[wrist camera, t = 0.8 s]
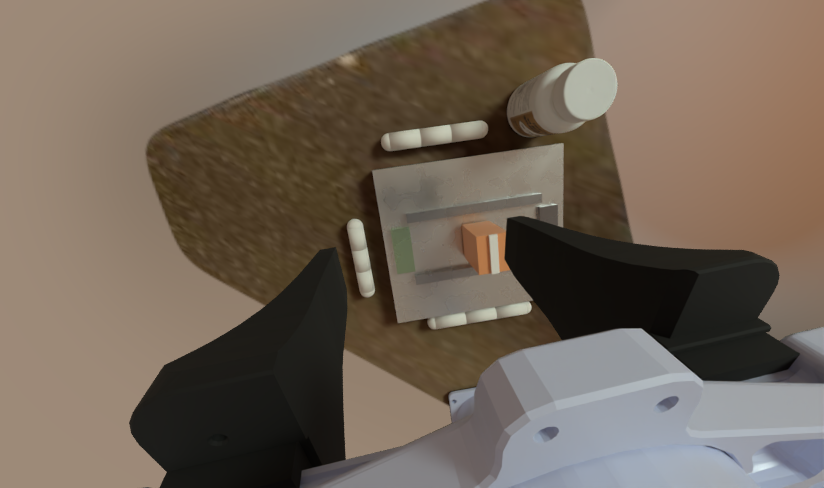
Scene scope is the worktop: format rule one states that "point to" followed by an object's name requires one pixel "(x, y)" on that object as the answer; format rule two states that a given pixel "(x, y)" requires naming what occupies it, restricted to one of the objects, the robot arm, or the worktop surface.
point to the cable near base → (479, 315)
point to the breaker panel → (460, 224)
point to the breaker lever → (485, 247)
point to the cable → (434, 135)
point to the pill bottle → (562, 98)
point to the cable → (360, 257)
